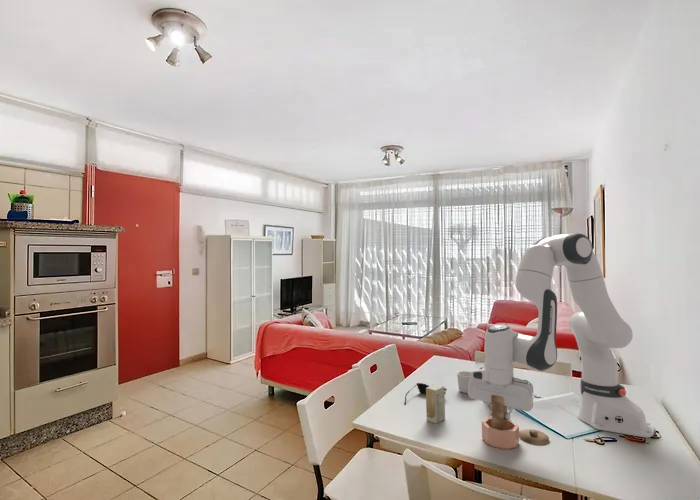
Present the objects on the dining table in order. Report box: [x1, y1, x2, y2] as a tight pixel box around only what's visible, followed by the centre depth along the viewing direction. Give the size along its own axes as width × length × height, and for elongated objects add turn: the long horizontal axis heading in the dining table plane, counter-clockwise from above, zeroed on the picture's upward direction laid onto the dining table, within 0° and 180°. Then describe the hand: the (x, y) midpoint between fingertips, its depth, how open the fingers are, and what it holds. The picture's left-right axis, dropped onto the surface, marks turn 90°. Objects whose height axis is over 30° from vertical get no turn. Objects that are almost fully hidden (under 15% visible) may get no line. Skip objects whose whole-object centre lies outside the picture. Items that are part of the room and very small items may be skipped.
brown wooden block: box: [490, 395, 508, 430], centre depth 124 cm, size 4×5×12 cm
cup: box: [456, 370, 471, 394], centre depth 169 cm, size 11×8×8 cm
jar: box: [481, 416, 520, 450], centre depth 124 cm, size 11×11×6 cm
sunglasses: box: [404, 382, 448, 406], centre depth 158 cm, size 14×16×5 cm
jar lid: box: [519, 428, 550, 445], centre depth 126 cm, size 9×9×2 cm
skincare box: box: [425, 383, 446, 425], centre depth 140 cm, size 6×4×12 cm
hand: (499, 417), depth 124 cm, fingers closed on brown wooden block, 3 cm apart
